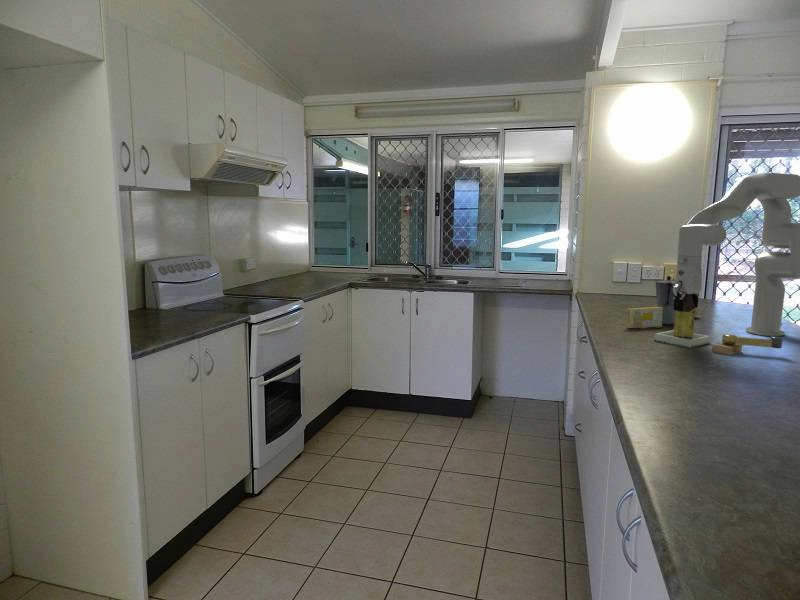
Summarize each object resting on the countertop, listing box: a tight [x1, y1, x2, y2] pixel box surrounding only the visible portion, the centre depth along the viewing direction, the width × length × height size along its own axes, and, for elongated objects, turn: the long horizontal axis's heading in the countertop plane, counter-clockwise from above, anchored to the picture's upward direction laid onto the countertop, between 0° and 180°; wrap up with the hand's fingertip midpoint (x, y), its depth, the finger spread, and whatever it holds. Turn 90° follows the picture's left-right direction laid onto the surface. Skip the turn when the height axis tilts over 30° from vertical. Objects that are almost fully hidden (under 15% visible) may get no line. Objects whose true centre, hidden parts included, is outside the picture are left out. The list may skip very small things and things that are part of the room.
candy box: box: [626, 306, 663, 329], centre depth 218 cm, size 16×2×8 cm, turn 108°
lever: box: [721, 333, 784, 349], centre depth 177 cm, size 17×4×3 cm, turn 66°
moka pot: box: [655, 275, 675, 325], centre depth 226 cm, size 10×15×20 cm, turn 161°
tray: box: [653, 329, 711, 348], centre depth 193 cm, size 13×13×2 cm
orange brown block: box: [711, 341, 743, 356], centre depth 179 cm, size 8×6×3 cm
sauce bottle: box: [673, 293, 695, 340], centre depth 192 cm, size 7×6×20 cm
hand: (685, 308), depth 192 cm, fingers open, 9 cm apart
